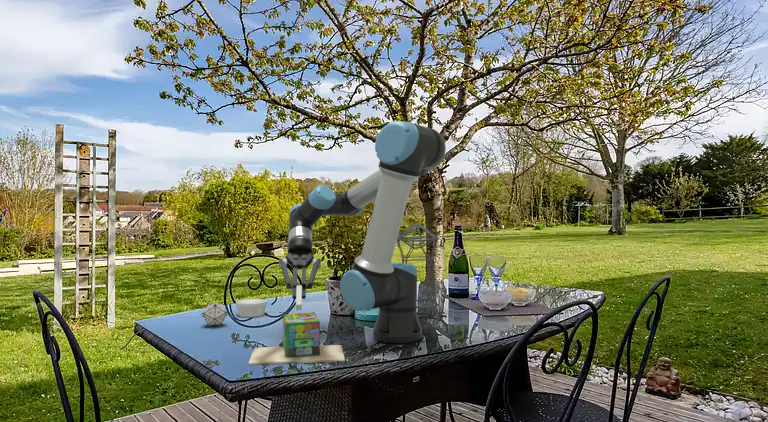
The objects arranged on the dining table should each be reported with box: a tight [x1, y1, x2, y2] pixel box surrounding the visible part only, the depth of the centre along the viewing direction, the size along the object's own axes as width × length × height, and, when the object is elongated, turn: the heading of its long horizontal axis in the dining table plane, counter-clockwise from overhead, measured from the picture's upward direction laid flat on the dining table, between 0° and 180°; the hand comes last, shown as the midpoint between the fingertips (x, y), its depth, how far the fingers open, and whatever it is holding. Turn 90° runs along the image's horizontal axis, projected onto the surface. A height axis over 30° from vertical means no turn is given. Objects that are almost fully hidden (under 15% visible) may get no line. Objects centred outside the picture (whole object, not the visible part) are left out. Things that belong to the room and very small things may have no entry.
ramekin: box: [235, 298, 268, 319], centre depth 180 cm, size 11×11×5 cm
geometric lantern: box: [396, 222, 441, 316], centre depth 182 cm, size 16×16×35 cm
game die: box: [201, 301, 229, 328], centre depth 161 cm, size 9×8×10 cm
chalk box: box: [282, 311, 321, 357], centre depth 130 cm, size 9×9×15 cm
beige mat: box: [248, 344, 346, 366], centre depth 129 cm, size 24×14×1 cm, turn 99°
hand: (298, 307), depth 135 cm, fingers closed
